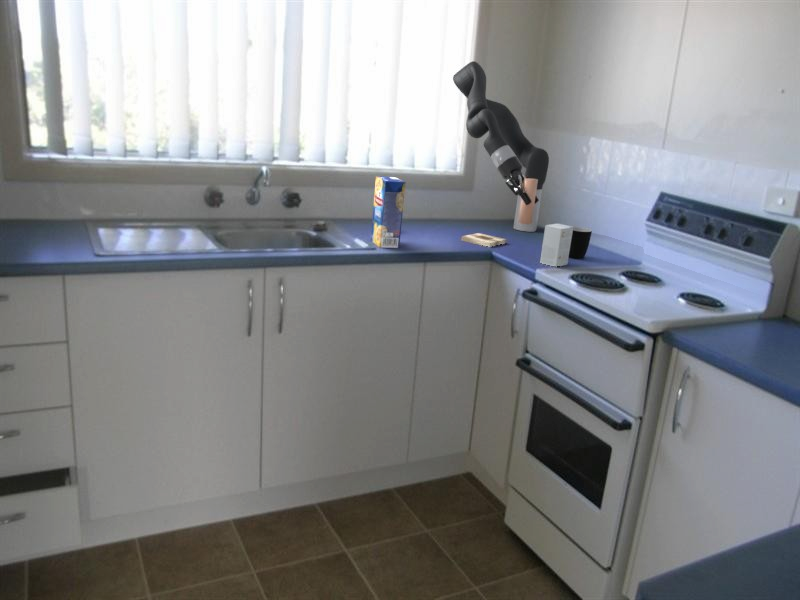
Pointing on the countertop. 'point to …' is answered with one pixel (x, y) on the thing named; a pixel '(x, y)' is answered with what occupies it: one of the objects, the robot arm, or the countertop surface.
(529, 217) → the pink rounded cylinder
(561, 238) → the small box
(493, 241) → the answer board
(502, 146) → the robot arm
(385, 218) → the blue and yellow carton
